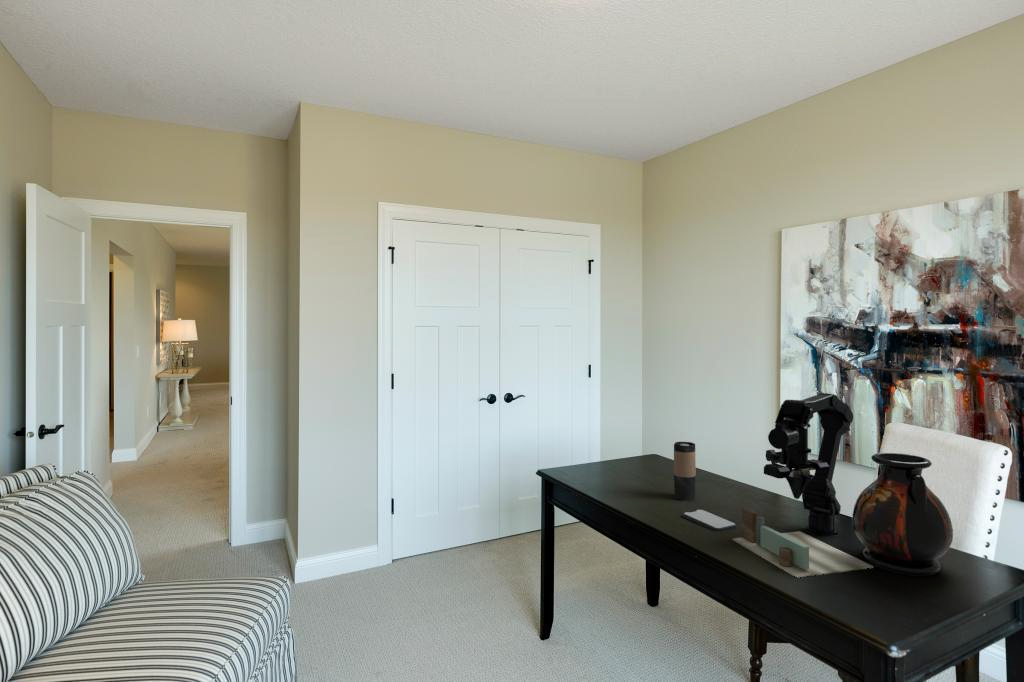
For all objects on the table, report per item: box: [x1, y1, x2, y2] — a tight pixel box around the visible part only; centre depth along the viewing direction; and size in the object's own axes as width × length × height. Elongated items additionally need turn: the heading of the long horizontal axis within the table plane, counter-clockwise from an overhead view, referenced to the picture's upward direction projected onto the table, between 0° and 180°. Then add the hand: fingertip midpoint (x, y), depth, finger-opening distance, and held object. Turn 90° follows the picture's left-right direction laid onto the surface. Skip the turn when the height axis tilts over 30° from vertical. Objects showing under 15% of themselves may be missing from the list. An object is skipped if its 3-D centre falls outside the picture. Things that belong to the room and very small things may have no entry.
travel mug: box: [673, 441, 697, 501], centre depth 205 cm, size 8×8×20 cm
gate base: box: [732, 507, 875, 579], centre depth 154 cm, size 23×26×9 cm
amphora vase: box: [852, 452, 954, 577], centre depth 146 cm, size 22×22×28 cm
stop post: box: [779, 547, 792, 567], centre depth 146 cm, size 3×3×4 cm
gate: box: [756, 516, 809, 569], centre depth 151 cm, size 18×2×8 cm, turn 15°
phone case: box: [682, 509, 738, 533], centre depth 180 cm, size 9×2×16 cm
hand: (796, 498), depth 161 cm, fingers closed
